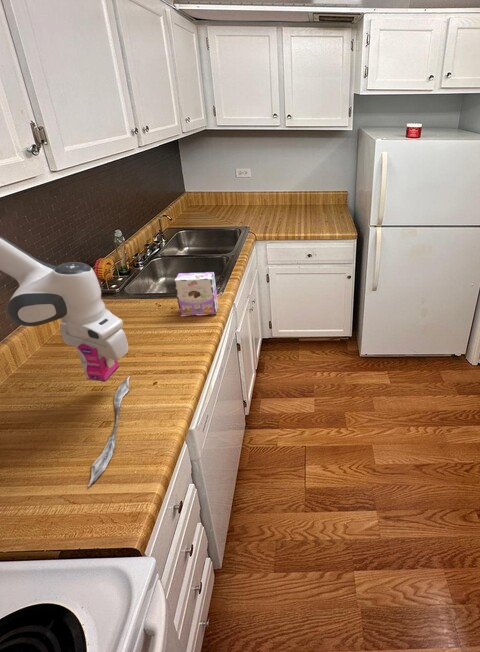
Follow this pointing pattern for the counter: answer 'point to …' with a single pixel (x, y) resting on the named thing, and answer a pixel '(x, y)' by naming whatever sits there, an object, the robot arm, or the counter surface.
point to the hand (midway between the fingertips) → (100, 362)
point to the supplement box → (94, 364)
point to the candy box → (196, 293)
